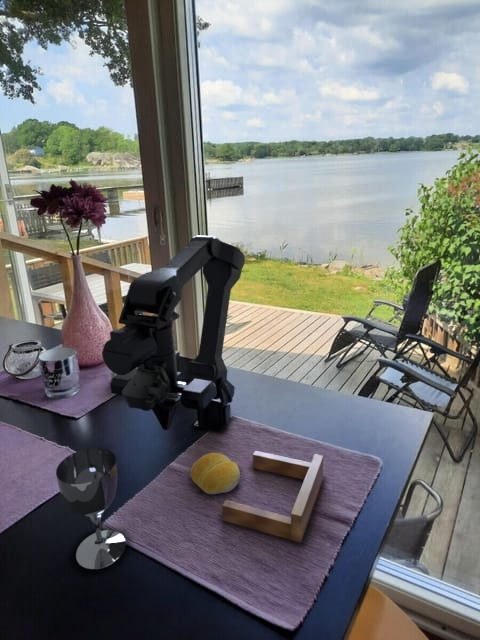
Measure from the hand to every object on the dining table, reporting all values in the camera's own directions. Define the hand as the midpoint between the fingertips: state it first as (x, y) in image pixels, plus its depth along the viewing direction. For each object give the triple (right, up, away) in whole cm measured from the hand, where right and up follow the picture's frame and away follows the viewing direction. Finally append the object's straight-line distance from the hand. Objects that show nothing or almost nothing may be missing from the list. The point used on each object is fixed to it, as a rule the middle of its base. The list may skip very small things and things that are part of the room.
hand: (166, 428), depth 81 cm
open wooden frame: (+19, -10, -6) cm, 23 cm away
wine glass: (-7, -14, -15) cm, 22 cm away
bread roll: (+9, -9, -1) cm, 13 cm away
